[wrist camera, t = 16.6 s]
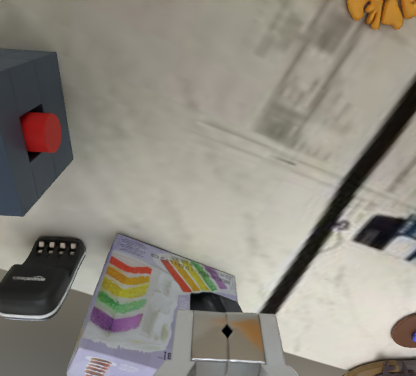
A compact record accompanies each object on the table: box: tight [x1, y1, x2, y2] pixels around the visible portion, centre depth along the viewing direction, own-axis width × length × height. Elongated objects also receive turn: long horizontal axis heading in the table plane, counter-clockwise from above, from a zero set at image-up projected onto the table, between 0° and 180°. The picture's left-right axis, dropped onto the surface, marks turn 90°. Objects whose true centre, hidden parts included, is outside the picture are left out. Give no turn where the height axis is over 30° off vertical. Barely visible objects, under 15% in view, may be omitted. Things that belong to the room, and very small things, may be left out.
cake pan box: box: [66, 234, 243, 376], centre depth 40 cm, size 19×5×18 cm, turn 63°
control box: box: [0, 49, 73, 217], centre depth 31 cm, size 7×12×12 cm, turn 177°
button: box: [19, 112, 61, 153], centre depth 31 cm, size 3×4×4 cm
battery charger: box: [0, 237, 86, 321], centre depth 41 cm, size 7×4×11 cm, turn 86°
